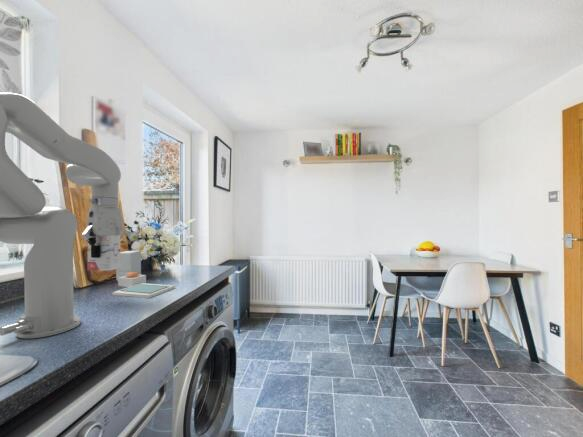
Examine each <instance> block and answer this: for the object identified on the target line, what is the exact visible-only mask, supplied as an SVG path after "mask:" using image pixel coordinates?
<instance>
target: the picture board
mask: <svg viewBox="0 0 583 437" xmlns="http://www.w3.org/2000/svg"><path fill="white" fill-rule="evenodd" d="M174 289H176V286H175V285H173V284H159V283H147V282H146V283H141V284H138V285H134V286H131V287H124V288H122V289H119V290H115V291H113V292H112V296H119V297H121V296H122V297H132V298H141V299H150V298H152V297H156V296H158V295H161V294H164V293H165V292H169V291H171V290H174Z"/></svg>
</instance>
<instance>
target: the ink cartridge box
mask: <svg viewBox="0 0 583 437" xmlns="http://www.w3.org/2000/svg"><path fill="white" fill-rule="evenodd" d="M117 230H118V235H107V236H105V237H101V239H100V242H99V245H100V246H101V253H100V258H92V257H91V245H89V243H88V242H87V263H86V264H87V268H86V269H87V271H105V272H106V271H115V270H116V269H119V268H120V252H121V241H122V240H121V239H122V238H121V235H120V227H119V226H117ZM96 236H97V235H96ZM90 237H91V236H90ZM95 240H96V238H95Z"/></svg>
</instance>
